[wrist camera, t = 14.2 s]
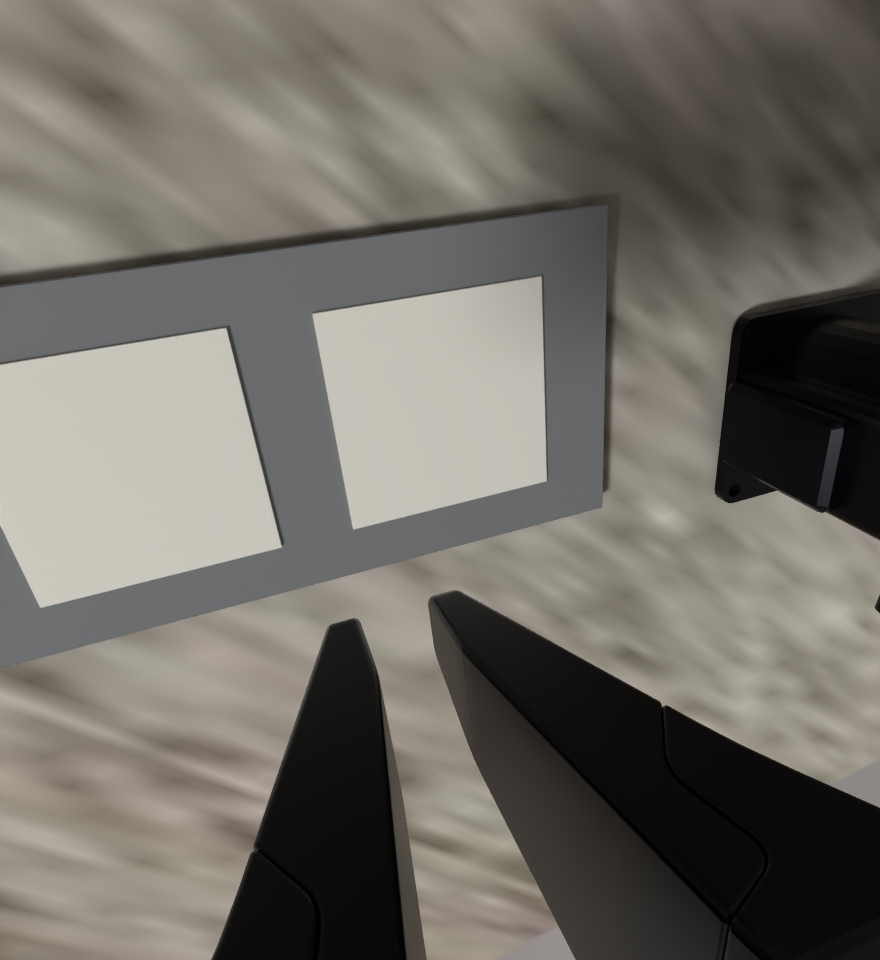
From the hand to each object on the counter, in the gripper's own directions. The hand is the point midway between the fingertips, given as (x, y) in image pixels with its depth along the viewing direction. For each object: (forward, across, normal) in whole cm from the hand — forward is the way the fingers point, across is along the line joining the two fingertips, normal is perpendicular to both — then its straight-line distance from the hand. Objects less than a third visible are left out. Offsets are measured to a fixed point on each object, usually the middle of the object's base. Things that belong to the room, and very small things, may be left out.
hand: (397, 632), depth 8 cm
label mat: (+9, +1, 0) cm, 9 cm away
